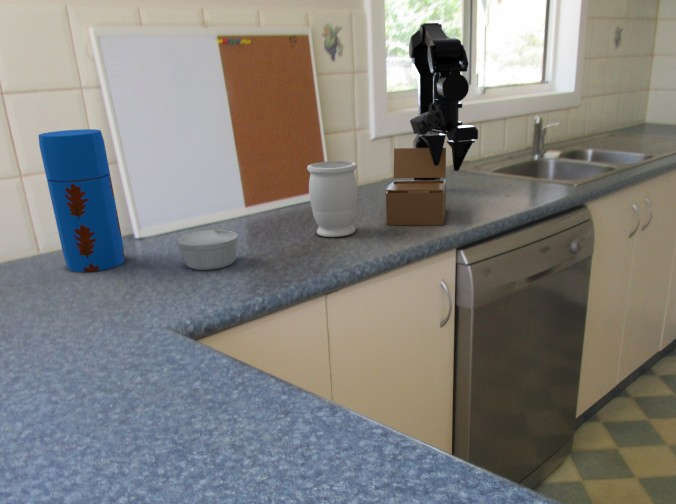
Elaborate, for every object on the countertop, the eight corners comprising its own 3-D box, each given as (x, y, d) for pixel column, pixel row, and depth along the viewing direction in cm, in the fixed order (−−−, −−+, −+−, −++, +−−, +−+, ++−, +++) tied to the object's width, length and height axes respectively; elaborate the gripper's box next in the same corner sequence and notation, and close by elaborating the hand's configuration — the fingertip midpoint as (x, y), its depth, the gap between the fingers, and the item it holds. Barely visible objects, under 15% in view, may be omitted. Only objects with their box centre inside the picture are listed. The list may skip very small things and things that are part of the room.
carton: (394, 210, 165) (393, 177, 162) (445, 210, 164) (445, 177, 161) (386, 225, 151) (385, 190, 148) (442, 225, 150) (442, 189, 147)
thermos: (61, 274, 124) (30, 138, 115) (71, 258, 133) (44, 131, 124) (123, 268, 126) (97, 134, 117) (128, 253, 136) (106, 127, 127)
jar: (331, 224, 153) (327, 159, 148) (368, 229, 148) (365, 162, 143) (302, 236, 144) (296, 166, 139) (341, 241, 139) (336, 170, 134)
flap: (393, 177, 162) (393, 178, 162) (445, 177, 161) (445, 177, 161) (393, 148, 162) (394, 148, 162) (445, 147, 161) (446, 147, 161)
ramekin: (253, 259, 129) (250, 232, 128) (210, 275, 120) (207, 247, 119) (211, 252, 135) (208, 226, 133) (168, 267, 126) (164, 240, 124)
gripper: (395, 98, 155) (397, 166, 160) (435, 103, 139) (436, 177, 145) (437, 96, 159) (437, 161, 165) (480, 100, 144) (479, 172, 149)
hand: (446, 167), depth 156 cm, fingers open, 9 cm apart
